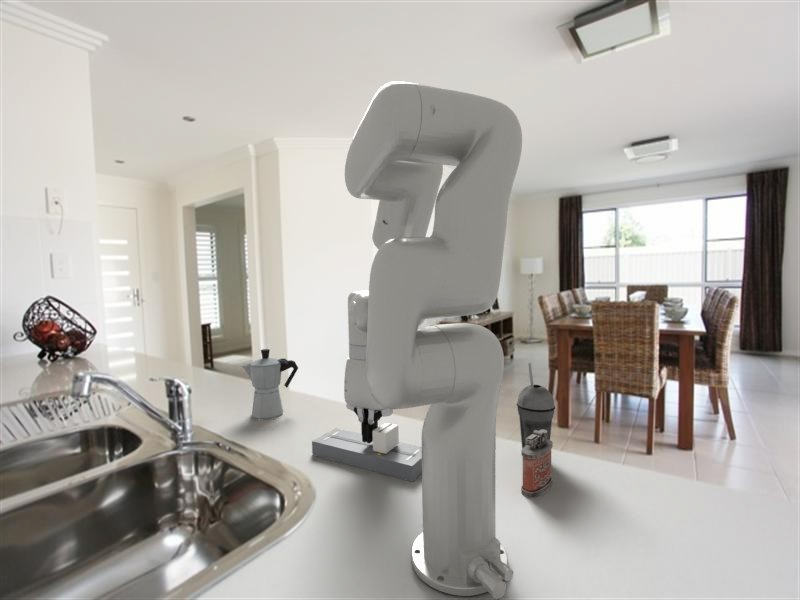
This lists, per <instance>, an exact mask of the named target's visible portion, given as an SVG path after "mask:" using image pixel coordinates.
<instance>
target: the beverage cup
mask: <svg viewBox="0 0 800 600" xmlns="http://www.w3.org/2000/svg"><path fill="white" fill-rule="evenodd" d="M527 365H528V373H529V381H530V382H529V383H530V385H527V386H525V387H524V388H523V389H521V391H520V393H519V395H518V398H517V402H516V406H517V412H518V413H517V414H518V416H519V417H518V418H519V425H520V426H519V429H520V439H521V450H522V449H523V448H524V447H525V446H526V438H527V437H529V436H530V435H532V434H533V431H534V430H537V431H540V430H542V429H543V430H547V439H548V440H551V434H552V424H553V419H554V414H555V409H556V406H555V400H554V397H553V395H552V393H551V392H550V391H549V390H548V389H547V388H546V387H544V386H543V385H539V384H534V378H533V371H532V370H533V369H532V363H531V362H528V364H527Z"/></svg>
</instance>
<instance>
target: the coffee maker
mask: <svg viewBox="0 0 800 600" xmlns="http://www.w3.org/2000/svg"><path fill="white" fill-rule="evenodd" d="M270 351H271V350H270V349H269V348H263V349H261V350H260V353H261V358H259V359H257V360H253V361H251V362H249V363H246V364H244V365H243V364H242V365H241V366H240V367H241V368H243V369H244V371H245V372H246V373H247V375H248V377H249V378H250V380H251V384H252V385H251V386H252V387H253V388H254V394H253V400H252V401H253V402H252V410H251V419H255V418H256V420H259V419H260V420H259V421H261V419H263V420H270V419H272V418H273V419H275V417H276V418H278V417H280V415H281V416H283V415H284V406H283V403H282V397H281V392H280V388H279V386H280V385H281V379H282V372H285V371H286V370H288V369H291V368H292V371H291V373H290V375H288V378H287V379H286V381H285V383H284V384H283V385H284V387H285V388H288V387H289V385H290V384H291V382H292V380H293V378H294V377H295V375H296V373H297V372H298V370H299V367H298V365H297V363H296V361H294V360H288V359H286V358H279V359H278V358H273V357H270Z"/></svg>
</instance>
